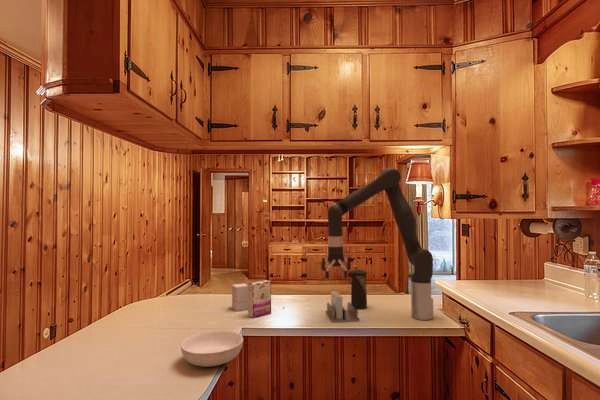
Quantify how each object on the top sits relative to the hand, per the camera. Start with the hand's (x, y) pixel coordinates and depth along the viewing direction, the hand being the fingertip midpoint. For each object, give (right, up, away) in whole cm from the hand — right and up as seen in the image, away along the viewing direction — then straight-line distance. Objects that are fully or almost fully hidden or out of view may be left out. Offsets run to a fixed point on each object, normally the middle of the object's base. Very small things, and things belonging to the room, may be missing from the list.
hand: (336, 278), depth 168 cm
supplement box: (-49, -19, +14) cm, 55 cm away
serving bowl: (-48, -17, -49) cm, 71 cm away
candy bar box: (-38, -19, +3) cm, 42 cm away
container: (+14, -19, +16) cm, 29 cm away
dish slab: (0, -18, -1) cm, 18 cm away
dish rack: (+3, -19, 0) cm, 19 cm away
